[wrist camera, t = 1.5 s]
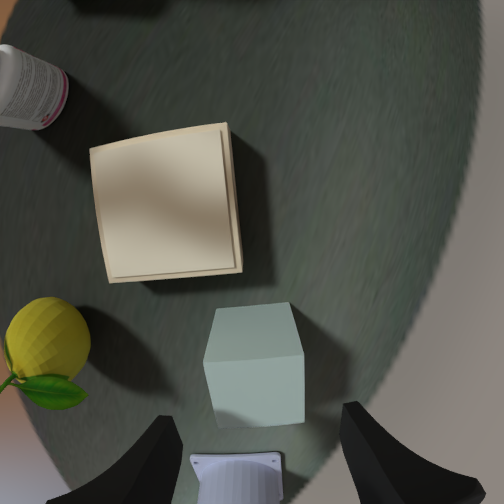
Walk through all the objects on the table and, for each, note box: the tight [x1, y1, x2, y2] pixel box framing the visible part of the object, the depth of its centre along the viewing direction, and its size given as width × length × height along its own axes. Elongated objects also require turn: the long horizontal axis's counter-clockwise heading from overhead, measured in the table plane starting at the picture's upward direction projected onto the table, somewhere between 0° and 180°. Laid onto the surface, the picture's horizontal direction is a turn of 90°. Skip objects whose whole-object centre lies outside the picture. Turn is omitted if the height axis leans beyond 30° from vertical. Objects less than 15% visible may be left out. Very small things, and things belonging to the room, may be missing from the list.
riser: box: [90, 122, 244, 283], centre depth 16 cm, size 8×8×3 cm
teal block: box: [203, 302, 305, 429], centre depth 16 cm, size 4×4×6 cm
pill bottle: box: [0, 45, 69, 130], centre depth 11 cm, size 5×5×8 cm
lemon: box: [0, 297, 91, 410], centre depth 14 cm, size 7×6×10 cm
